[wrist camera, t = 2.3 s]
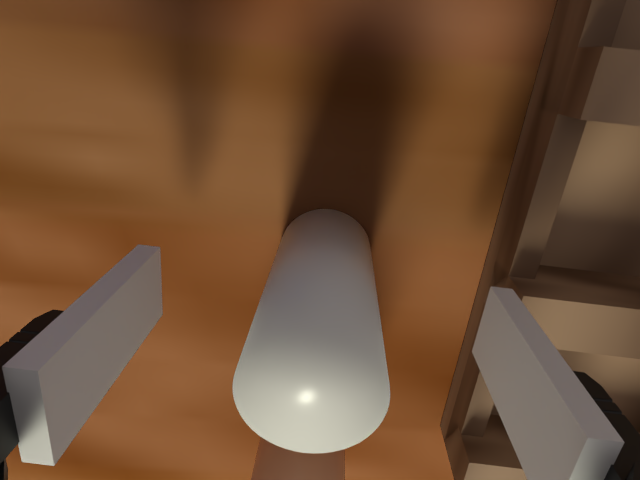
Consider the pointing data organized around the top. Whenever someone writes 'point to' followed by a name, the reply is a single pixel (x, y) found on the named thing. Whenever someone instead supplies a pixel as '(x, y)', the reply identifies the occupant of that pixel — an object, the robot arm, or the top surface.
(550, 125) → the comb rack
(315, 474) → the plug terracotta
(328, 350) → the plug grey
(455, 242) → the top surface
